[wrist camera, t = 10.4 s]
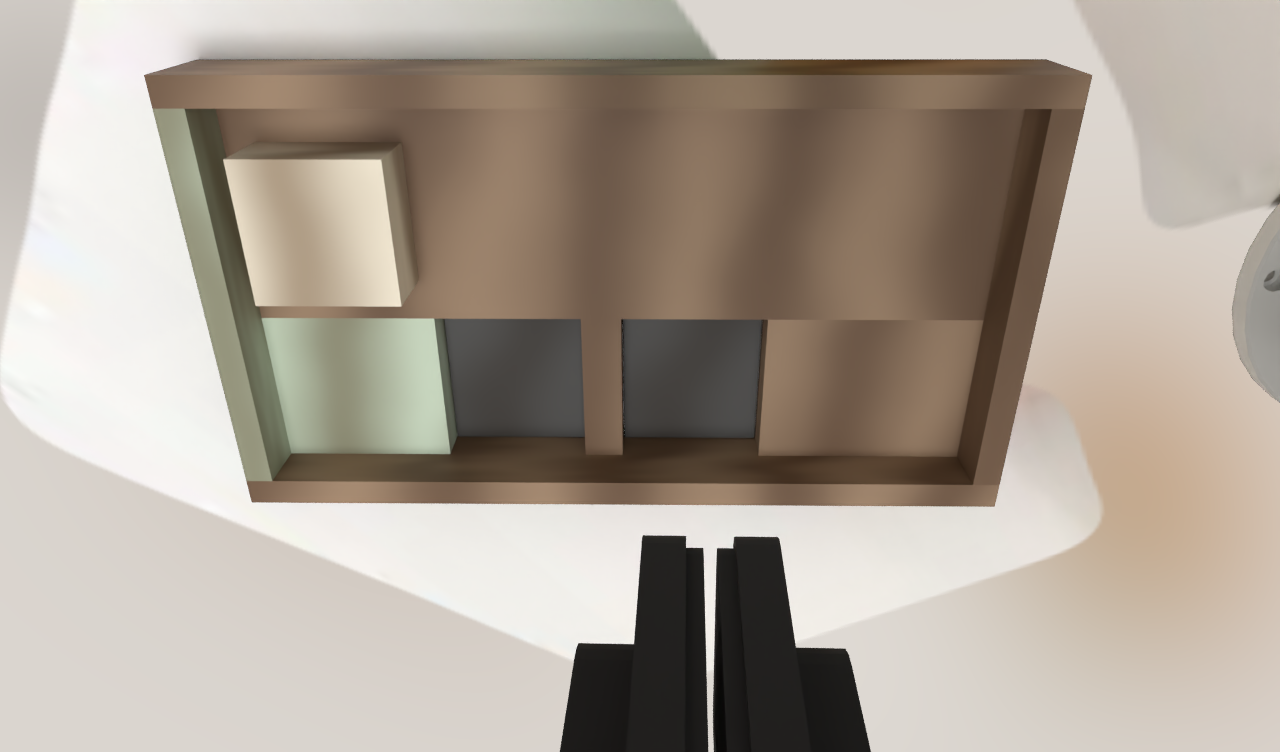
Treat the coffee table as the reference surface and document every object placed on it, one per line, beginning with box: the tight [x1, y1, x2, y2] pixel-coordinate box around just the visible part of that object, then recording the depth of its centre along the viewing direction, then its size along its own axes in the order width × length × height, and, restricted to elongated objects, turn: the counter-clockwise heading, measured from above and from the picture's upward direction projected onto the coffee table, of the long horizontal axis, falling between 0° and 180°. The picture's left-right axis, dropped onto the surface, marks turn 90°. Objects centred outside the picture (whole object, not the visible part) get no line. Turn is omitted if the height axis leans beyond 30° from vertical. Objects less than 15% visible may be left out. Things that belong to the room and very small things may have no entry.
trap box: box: [144, 60, 1092, 507], centre depth 32 cm, size 29×16×4 cm, turn 90°
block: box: [223, 142, 419, 307], centre depth 30 cm, size 5×5×2 cm
